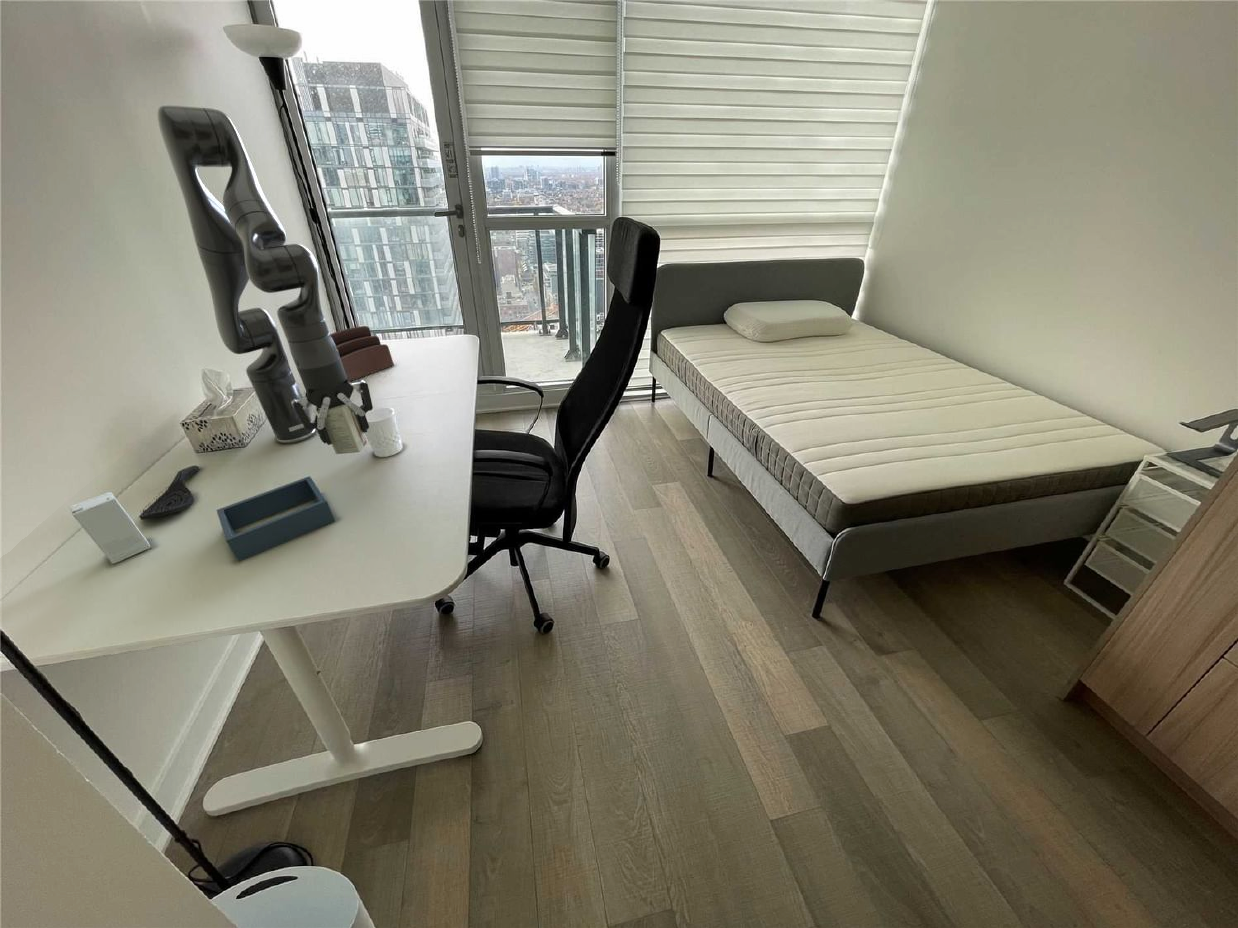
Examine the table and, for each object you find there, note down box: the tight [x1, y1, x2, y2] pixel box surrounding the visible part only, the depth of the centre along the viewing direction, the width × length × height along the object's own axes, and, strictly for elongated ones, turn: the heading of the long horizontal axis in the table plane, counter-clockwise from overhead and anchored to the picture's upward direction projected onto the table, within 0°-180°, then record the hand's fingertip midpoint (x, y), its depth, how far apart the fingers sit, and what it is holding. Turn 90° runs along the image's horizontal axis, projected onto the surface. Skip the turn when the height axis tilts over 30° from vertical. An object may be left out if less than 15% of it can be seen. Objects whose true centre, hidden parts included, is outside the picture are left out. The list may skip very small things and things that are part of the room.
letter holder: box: [330, 325, 395, 383], centre depth 172 cm, size 10×20×14 cm, turn 144°
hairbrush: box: [138, 465, 200, 521], centre depth 114 cm, size 8×4×25 cm
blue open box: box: [216, 475, 336, 562], centre depth 102 cm, size 13×17×5 cm
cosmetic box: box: [69, 491, 151, 565], centre depth 95 cm, size 6×4×12 cm
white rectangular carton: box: [318, 404, 368, 455], centre depth 104 cm, size 5×4×10 cm
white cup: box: [364, 406, 403, 458], centre depth 125 cm, size 8×8×10 cm
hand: (346, 437), depth 105 cm, fingers closed on white rectangular carton, 6 cm apart
